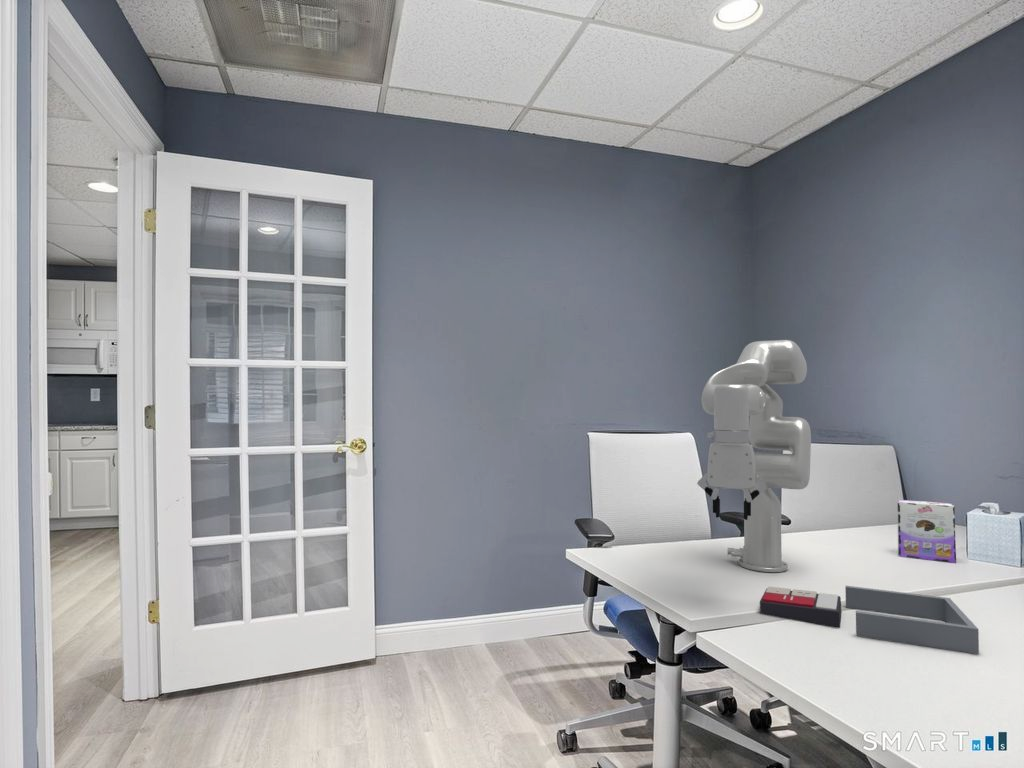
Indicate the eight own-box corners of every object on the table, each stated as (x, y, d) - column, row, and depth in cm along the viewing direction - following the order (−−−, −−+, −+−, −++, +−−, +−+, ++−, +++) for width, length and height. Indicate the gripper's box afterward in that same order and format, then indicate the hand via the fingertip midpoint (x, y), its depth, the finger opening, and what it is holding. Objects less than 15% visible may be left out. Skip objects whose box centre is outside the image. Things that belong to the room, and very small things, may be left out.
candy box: (954, 559, 169) (953, 502, 169) (956, 563, 164) (955, 505, 164) (897, 552, 176) (896, 498, 177) (898, 556, 171) (897, 501, 172)
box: (856, 635, 112) (856, 612, 113) (845, 605, 129) (845, 585, 129) (978, 654, 104) (978, 629, 105) (950, 619, 121) (949, 598, 121)
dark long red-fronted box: (766, 584, 134) (840, 592, 126) (767, 603, 133) (841, 612, 126) (759, 598, 124) (838, 607, 116) (760, 618, 124) (840, 629, 116)
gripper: (690, 437, 132) (690, 517, 131) (772, 440, 125) (773, 524, 124) (694, 436, 138) (694, 511, 138) (772, 438, 131) (772, 518, 131)
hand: (731, 516), depth 131 cm, fingers open, 5 cm apart
